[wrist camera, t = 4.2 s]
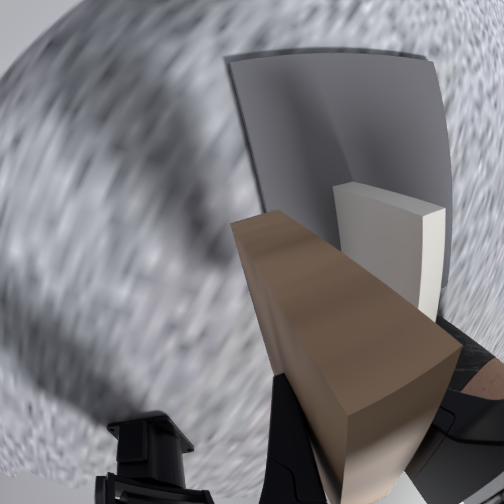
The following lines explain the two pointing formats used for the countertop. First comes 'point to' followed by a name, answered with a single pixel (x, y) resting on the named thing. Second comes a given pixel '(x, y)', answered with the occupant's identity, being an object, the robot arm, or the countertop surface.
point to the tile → (394, 240)
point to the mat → (344, 133)
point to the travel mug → (474, 367)
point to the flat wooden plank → (345, 354)
